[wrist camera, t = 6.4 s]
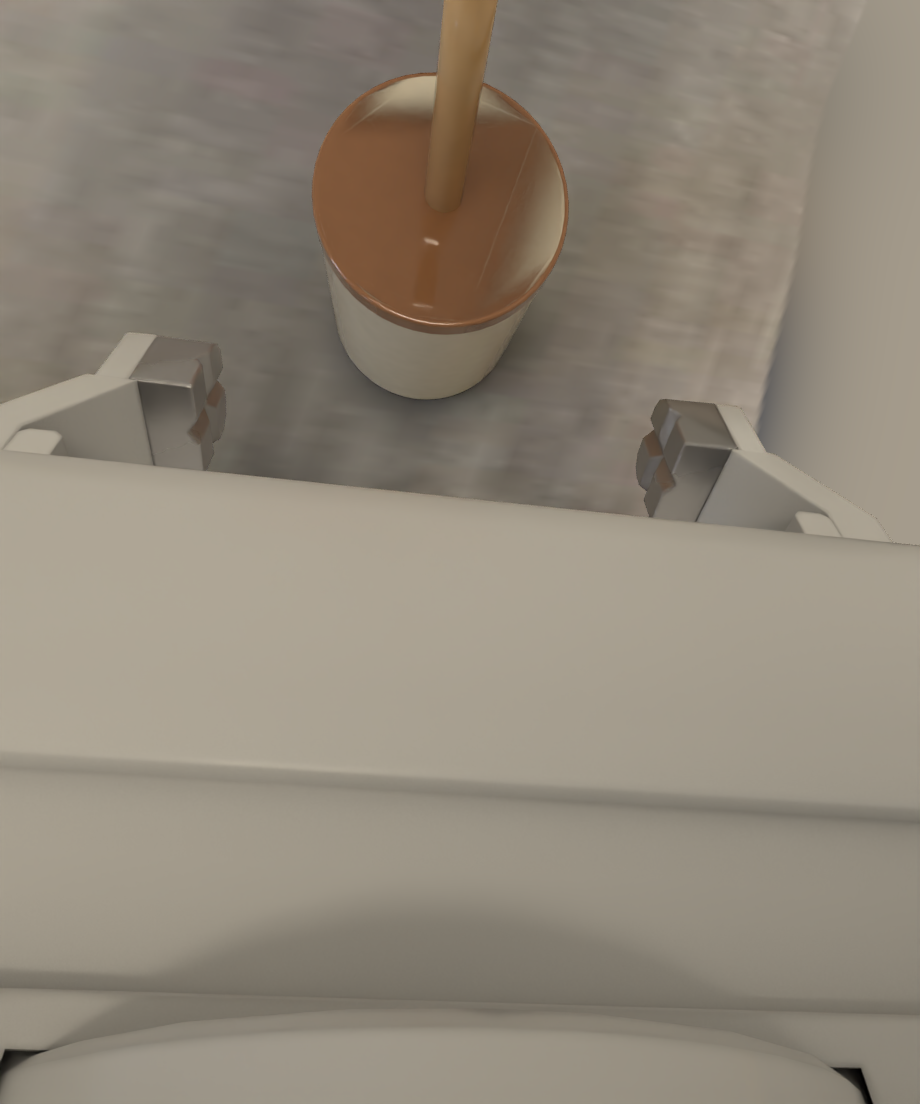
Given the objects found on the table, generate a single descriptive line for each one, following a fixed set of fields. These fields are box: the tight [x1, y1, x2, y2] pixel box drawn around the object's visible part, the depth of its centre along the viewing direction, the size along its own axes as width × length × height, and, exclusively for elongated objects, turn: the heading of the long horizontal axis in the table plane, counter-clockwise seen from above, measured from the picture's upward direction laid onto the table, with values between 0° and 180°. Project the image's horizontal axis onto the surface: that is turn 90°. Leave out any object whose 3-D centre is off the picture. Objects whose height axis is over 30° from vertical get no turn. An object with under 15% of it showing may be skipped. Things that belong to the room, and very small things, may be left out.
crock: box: [312, 0, 569, 399], centre depth 14 cm, size 7×6×17 cm
